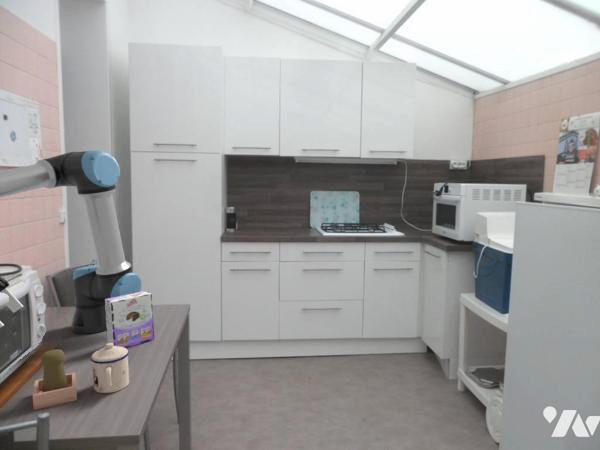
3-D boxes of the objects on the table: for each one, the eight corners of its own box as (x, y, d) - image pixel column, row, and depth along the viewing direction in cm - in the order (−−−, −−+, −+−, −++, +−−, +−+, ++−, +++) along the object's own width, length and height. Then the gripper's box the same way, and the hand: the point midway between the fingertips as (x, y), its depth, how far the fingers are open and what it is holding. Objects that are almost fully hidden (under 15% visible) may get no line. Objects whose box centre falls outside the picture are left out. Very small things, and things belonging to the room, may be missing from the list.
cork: (56, 399, 105) (53, 357, 104) (36, 397, 106) (32, 355, 105) (74, 388, 111) (71, 347, 110) (54, 385, 112) (51, 345, 111)
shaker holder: (36, 393, 111) (35, 380, 110) (76, 384, 115) (75, 372, 115) (33, 409, 103) (32, 396, 102) (76, 400, 107) (75, 386, 106)
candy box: (147, 335, 150) (144, 290, 148) (154, 340, 146) (152, 293, 144) (107, 346, 141) (103, 298, 139) (113, 351, 136) (110, 301, 135)
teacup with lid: (95, 380, 117) (92, 340, 116) (131, 375, 120) (128, 335, 119) (89, 402, 106) (86, 357, 104) (128, 396, 109) (126, 352, 107)
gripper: (-42, 250, 114) (13, 310, 120) (-99, 275, 91) (-27, 348, 96) (-16, 234, 115) (37, 295, 121) (-66, 255, 92) (3, 328, 98)
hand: (9, 318), depth 109 cm, fingers open, 13 cm apart
